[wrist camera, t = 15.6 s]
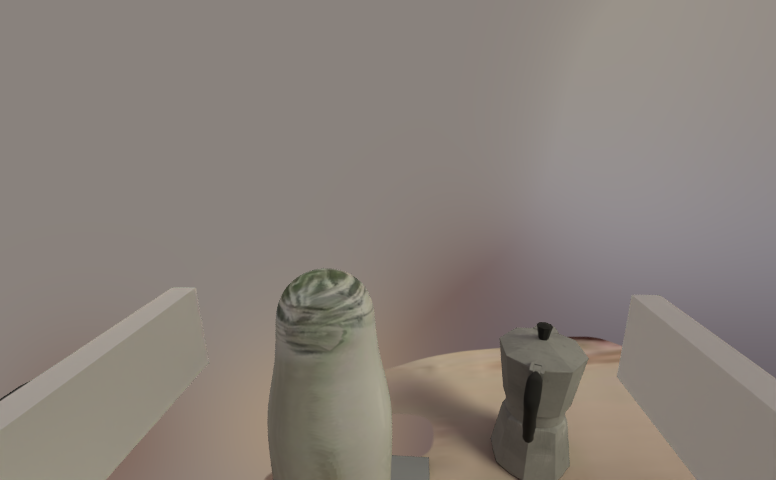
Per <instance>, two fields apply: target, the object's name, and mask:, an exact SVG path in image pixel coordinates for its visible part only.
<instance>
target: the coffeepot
mask: <svg viewBox="0 0 776 480" xmlns="http://www.w3.org/2000/svg"><path fill="white" fill-rule="evenodd" d="M500 349H501V363H502V377H503V387H504V391H505V394H506V399H505V400H504V401H503V402H502V405H501V408H500V411H499V415H498V418H497V421H496V424H495V427H494V430H493V433H492V436H491V441H492V446H493V452H494V455H495V458H496V461H497V462H498V463H499V464H500V465H501V466H502V467H503V468H504V469H505V470H506V471H507V472H509V473H510V474H511V475H513V476H515V477H516V478H518V479H521V480H559V479H560V478H561V477H562V476H563V474H564V472H565V471H566V470H567V468H568V467H569V466H570V462H569V444H568V426H567V420H566V417H565V412H566V411H567V410H568V408H569V407H570V406H571V404H572V401H573V399H574V396H575V393H576V391H577V388H578V385H579V383H580V380H581V377H582V375H583V372H584V369H585V367H586V364H587V361H588V359H589V358H588V357H587V356H586V354H585V353H584V352H583V350H582V349H581V347H580V346H579V345H578V343H577V342H576V341H575V340H573V339H570V338H568V337H565V336H563V335H560V334H559V333H558V332H557V330H556V328H554V327H553V326H552V325H551V324H548V323H546V322H539V323H538V324H537V326H535V327H533V328H515V329H513V330H512V331H510V332H508V333H507V334H505V335H503V336H502V337H500Z"/></svg>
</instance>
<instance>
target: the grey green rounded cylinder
mask: <svg viewBox="0 0 776 480" xmlns="http://www.w3.org/2000/svg"><path fill="white" fill-rule="evenodd" d="M275 349H276V350H275V363H274V370H273V376H272V382H271V389H270V395H269V404H268V441H269V450H270V458H271V466H272V474H273V480H391V458H392V412H391V402H390V395H389V390H388V386H387V381H386V377H385V373H384V369H383V365H382V362H381V358H380V353H379V348H378V342H377V334H376V325H375V316H374V309H373V304H372V301H371V298H370V295H369V293H368V291H367V290H366V288H365V287H364V286H363V284H362V283H361V282H360V281H359V280H358V279H357V278H355V277H354V276H352V275H350V274H349V273H347V272H344V271H341V270H337V269H324V268H323V269H317V270H312V271H309V272H306V273H304V274H302V275H300V276H299V277H297V278H296V279H295V280H293V281H292V283H290V284H289V285H288V287H287V288H286V289H285V290H284V292H283V294H282V296H281V298H280V300H279V304H278V307H277V313H276V344H275Z"/></svg>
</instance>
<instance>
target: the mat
mask: <svg viewBox="0 0 776 480" xmlns="http://www.w3.org/2000/svg"><path fill="white" fill-rule="evenodd" d="M391 480H429V457H411V456H394V455H392V458H391Z"/></svg>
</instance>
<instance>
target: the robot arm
mask: <svg viewBox="0 0 776 480" xmlns="http://www.w3.org/2000/svg"><path fill="white" fill-rule="evenodd" d="M208 364H209V359H208V354H207V348H206V343H205V337H204V331H203V326H202V320H201V315H200V309H199V304H198V298H197V293H196V288H187V287H186V288H185V287H172V288H171V289H169V290H168V291H166V292H165V293H163V294H162V295H160V296H159V297H157V298H156V299H154V300H153V301H151V302H150V303H148V304H147V305H145V306H144V307H142V308H141V309H139V310H138V311H136V312H135V313H133V314H131V315H130V316H128V317H127V318H126V319H124V320H122V321H121V322H119V323H118V324H116V325H115V326H113V327H112V328H110V329H109V330H107V331H106V332H104V333H103V334H101V335H100V336H98V337H97V338H95V339H94V340H92V341H91V342H89V343H88V344H86V345H85V346H83V347H81V348H80V349H78V350H77V351H75V352H74V353H73V354H71V355H69V356H68V357H66V358H65V359H63V360H62V361H60V362H59V363H57V364H56V365H54V366H53V367H51V368H50V369H48V370H47V371H45V372H44V373H42V374H41V375H39V376H38V377H36V378H35V379H33V380H31V381H29V382H27V383H25V384H23V385H21V386H19V387H18V388H16V389H15V390H13V391H12V392H10V393H9V394H7V395H6V396H4V397H3V398H1V399H0V480H106V479H107V478H108V477H109V476H110V475H111V474H112V472H113V471H114V470H115V469H116V468H117V467H118V466H119V465H120V463H121V462H122V461H123V460H124V459H125V458H126V457H127V455H128V454H129V453H130V452H131V451H132V449H134V448H135V446H136V445H137V444H138V443H139V442H140V441H141V440H142V438H143V437H144V436H145V435H146V434H147V433H148V432H149V431H150V429H151V428H152V427H153V426H154V425H155V424H156V423H157V422H158V420H159V419H160V418H161V417H162V416H163V415H164V414H165V412H166V411H167V410H168V409H169V408H170V407H171V406H172V405H173V403H174V402H175V401H176V400H177V399H178V398H179V397H180V395H181V394H182V393H183V392H184V391H185V390H186V389H187V388H188V386H189V385H190V384H191V383H192V382H193V381H194V380H195V378H196V377H197V376H198V375H199V374H200V373H201V372H202V371H203V369H204V368H205V367H206V366H207V365H208ZM617 377H618V379H619V380H620V381H621V383H622V384H623V385H624V386H625V388H626V389H627V390H628V392H629V393H630V394H631V395H632V397H633V398H634V399H635V401H636V402H637V403H638V405H639V406H640V407H641V408H642V410H643V411H644V412H645V414H646V415H647V416H648V417H649V419H650V420H651V421H652V423H653V424H654V425H655V426H656V428H657V429H658V430H659V432H660V433H661V434H662V436H663V437H664V438H665V439H666V441H667V442H668V443H669V445H670V446H671V447H672V448H673V450H674V451H675V452H676V454H677V455H678V456H679V458H680V459H681V460H682V461H683V463H684V464H685V465H686V467H687V468H688V469H689V470H690V472H691V473H692V474H693V476H694V477H695V478H696V479H697V480H776V378H774V377H773V376H771V375H770V374H768V373H767V372H766V371H764V370H763V369H762V368H760V367H759V366H757V365H756V364H754V363H753V362H752V361H751V360H749V359H748V358H746V357H745V356H744V355H742V354H741V353H739V352H738V351H737V350H735V349H734V348H733V347H731V346H730V345H728V344H727V343H726V342H724V341H723V340H721V339H720V338H719V337H717V336H716V335H714V334H713V333H712V332H710V331H709V330H707V329H706V328H705V327H703V326H702V325H701V324H699V323H698V322H696V321H695V320H693V319H692V318H691V317H689V316H688V315H687V314H685V313H684V312H682V311H681V310H680V309H678V308H677V307H676V306H674V305H673V304H671V303H670V302H669V301H667V300H666V299H664V298H663V297H662V296H660V295H632V296H631V303H630V307H629V313H628V319H627V324H626V330H625V335H624V341H623V346H622V352H621V357H620V363H619V368H618V374H617Z"/></svg>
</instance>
